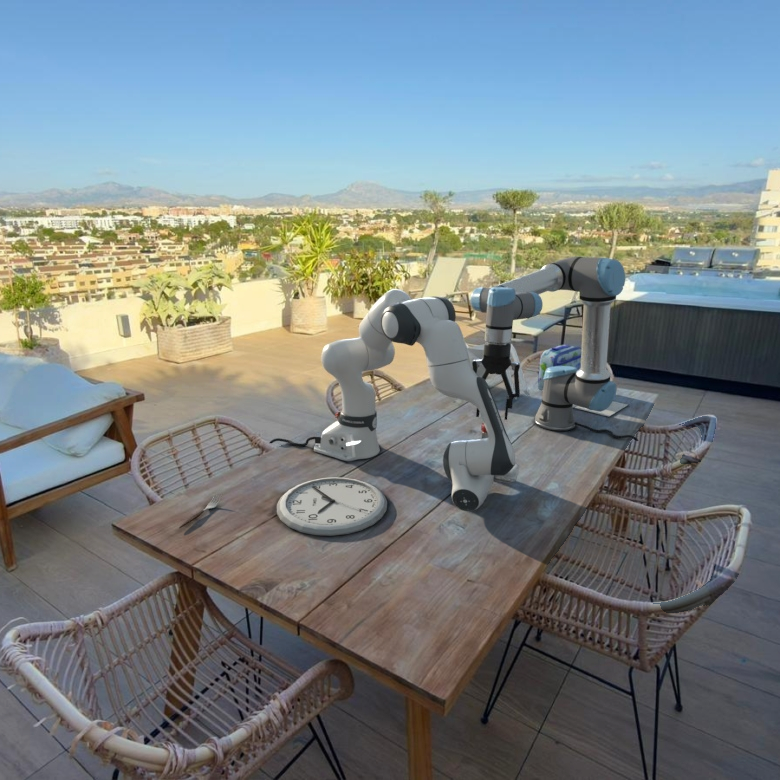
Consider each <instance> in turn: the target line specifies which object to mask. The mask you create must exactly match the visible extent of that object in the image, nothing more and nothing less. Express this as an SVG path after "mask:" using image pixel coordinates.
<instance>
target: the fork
mask: <svg viewBox="0 0 780 780" xmlns="http://www.w3.org/2000/svg"><path fill="white" fill-rule="evenodd" d="M222 498H223V495H221V493H220V494H217V493H215V494H214V495H213V497H212V499H211V500H210V502H209V503H208V504H207V505H206V507H205V508H204V509H202V510H200V511H199V512H197V513H195V514H193V515H192V516H191V517H190V518H188V519H187V520H186V521H185V522H184V523H183V524H181V525H180V526H179V527H178V529H182V528H183V527H185V526H186V525H188V524H189V523H191V522H193V521H195V520H196V519H197V518H198V517H200V516H201V515H202V514H203V513H204V512H205V511H207V510H210V509H211V510H212V509H215V508H216V507H217V506H218V505H219V503H220V501H221V499H222Z"/></svg>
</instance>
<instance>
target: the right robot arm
mask: <svg viewBox="0 0 780 780" xmlns="http://www.w3.org/2000/svg"><path fill="white" fill-rule="evenodd" d="M625 285H626V272H625V268H624V266H623V264H622V263H621V261H619V260H618V259H615V258H609V257H597V256H595V257H593V256H571V257H566V258H563V259H558V260H556V261H552V262H550V263H547V264H545V265H544V266H542V267H541V269H539V270H536V271H534V272H530V273H529V274H526V275H523V276H520V277H517V278H514V279H511V280H508V281H506V282H503V283H500V284H498V285H495V286H491V287H485V286H483V287H481V286H480V287H476V288H475V289H474V290H473V291H472V292H471V294H470V306H471V307H472V309H473V310H474V311H477V312H480V313H483V314H486V317H485V318H486V319H485V323H486V324H485V327H484V329H485V330H484V341H485V342H484V343H483V344H484V356H483V358H482V360H476V359H474V360H473V362H472V365H473V370H474V372H475V373H477V369H478V367H480V364H483V366H484V368H485V369H486V370H485V372H484V374H483V376H482V378H484V379H485V381H487V379H488V376H489V375H500V376H501V378H502V381H503V384H504V387H505V390H506V393H507V396H506V399H505V407H504V408H505V409H504V410H505V411H504V420H505V421H507V420H508V415H509V409H510V410H511V409H513V405H514V404H513V403H514V399H515V397H517V398H520V395H521V389H520V379H519V374H518V371H519V368H520V365H521V362H520V363H514V361H511V360H512V359H511V360H510V350H511V344H512V343H511V342H512V335H513V325H514V321H516V320H525V319H527V320H529V319H531V318H535V317H537V316H538V315H540V314H541V312H542V310H543V299H542V297H541V296H540V295H541V294H544V293H547V292H551V293H553V292H557V291H570V292H571V291H572V292H578V293H579V298H578V299H579V301H580V302H581V303H582V305H583V309H582V312H583V313H582V329H581V330H582V331H581V333H582V334H581V368H580V369H579V370H578V371H577V368H575V367H572V366H554V367H550V368H547V369H546V371H545V374H544V378H543V379H544V382H543V390H541V391H542V394H541V402H540V405H539V407H538V410H537V411H536V413H535V417H534V424H535V425H536V426H537V427H539V428H542V429H544V430H549V431H556V432H567V431H572V430H574V429H575V428H576V426H578V427H581V428H583V429H587V430H588V431H591V432H595V433H608V434H610V436H611V437H613V438H615V439H628V438H629V439H633V440H634V441H635V442H639V439H638V438H637V437H636V436H635V435H632V434H623V435H618V434H615V433H614V432H613V431H612V430H610V429H603V428H602V429H596V428H593V427H591V426H588V425H586V424H582V423H580V422H577V421H576V418H575V417H576V416H575V413H574V407H573V405H574V406H580V407H584V408H587V409H589V410H594V411H599V412H600V411H604V410H606V409H607V408H608V407H609V406H610V404H611V403H612V401H614V400H615V398H616V394H617V389H618V387H617V384H616V382H614V381H613V380H611V372H610V371H609V370H607V365H608V364H607V363H608V349H609V338H610V337H609V334H610V321H611V307H612V303H614V302H615V301H616V300H617V296H619V295H620V294H621V293H622V292H623V290H624V287H625ZM510 367H511V370H512V371H513V383H514V388H515V392H512V389H511V386H510V383H509V380H508V377H507V374H506V370H507V368H510ZM475 413H476V414H475V417H476V418H479V417H480V411H479V410H478V408H477V407H476V412H475Z"/></svg>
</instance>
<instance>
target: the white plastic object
mask: <svg viewBox="0 0 780 780" xmlns="http://www.w3.org/2000/svg"><path fill="white" fill-rule="evenodd" d="M510 344H511V350H510V360H513V362H514V363H520V368H519V371H518V374H519V383H520V385H521V389H522V391H523V393H524V395H525V396H526V397H528V396H531V395H530V390H529V388H528V387H529V386H528V384H527V381H526V378H525V375H524V371H523V369H522V368H523V367H522V366H521V362H520V359H519V355H518V352H517V349H516V347H515V346H514V345H513V343H510ZM466 347H467V351H468V356H469V361H470V364H471V367H472V369H473V365H472V362H473V360H474V359H476V360H482V358H483V356H484V343H483V344H479V345H473V346H469V345H468V343H466ZM509 368H510V367H508V368H507V370H506V374H507V377H508V380H509V383H510V386H511V389H512V392H515V384H514V380H513V378H512V375H511V371H510V369H509ZM485 370H486V369H485V368H484V366H483V364H480V367H478V369H477V373H476V374H477V375H478V376H479V377H482V376H483V374H484V372H485ZM514 399H515V400H517V399H518V397H515V398H514Z"/></svg>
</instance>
